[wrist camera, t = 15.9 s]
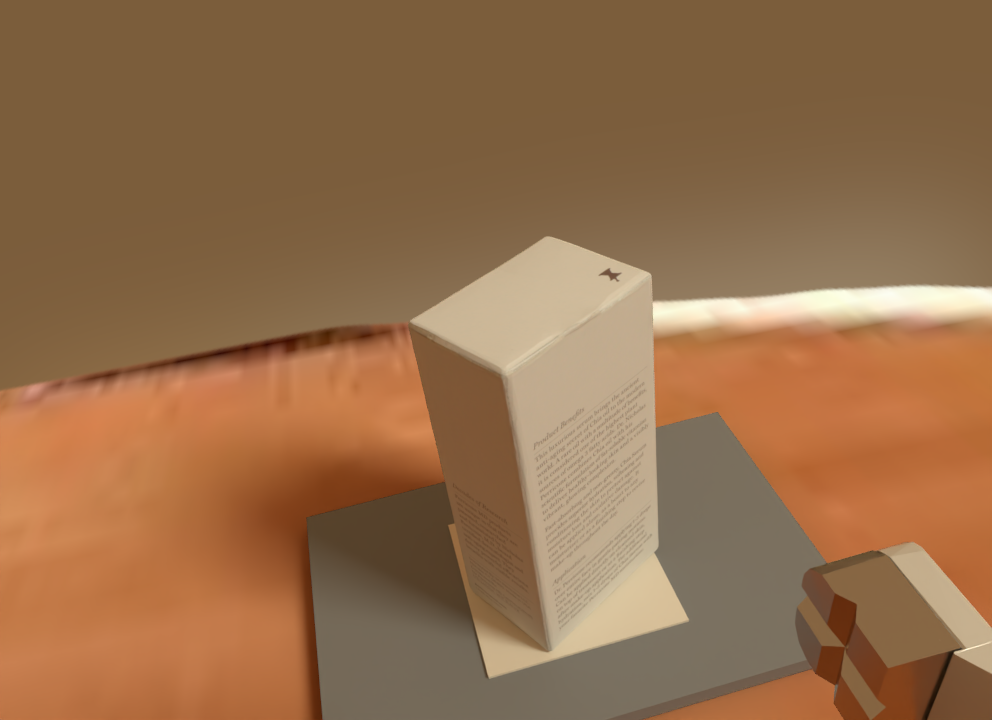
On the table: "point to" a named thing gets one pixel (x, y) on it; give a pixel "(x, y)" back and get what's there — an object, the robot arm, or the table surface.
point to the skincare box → (546, 430)
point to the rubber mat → (598, 638)
